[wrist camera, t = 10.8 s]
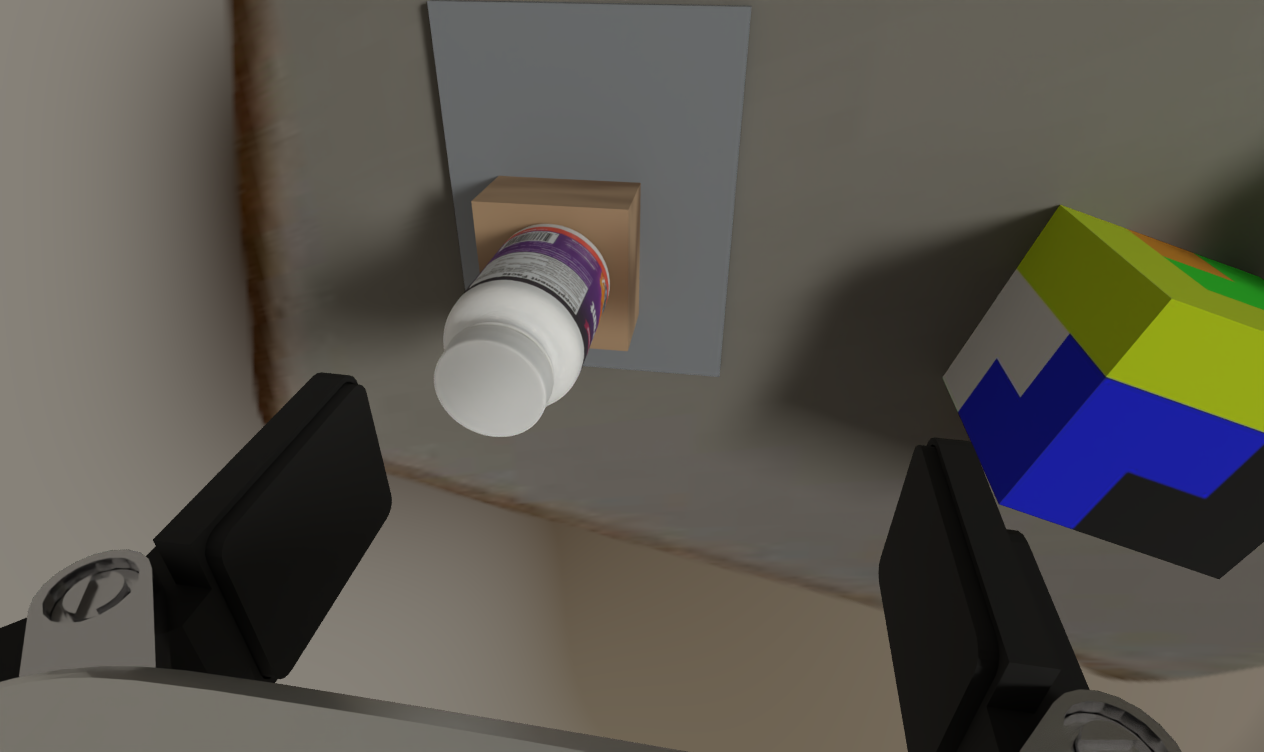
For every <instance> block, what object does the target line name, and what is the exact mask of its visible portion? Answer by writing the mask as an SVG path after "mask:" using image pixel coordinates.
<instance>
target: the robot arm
mask: <svg viewBox="0 0 1264 752" xmlns="http://www.w3.org/2000/svg"><path fill="white" fill-rule="evenodd" d="M391 504H392V497H391V492H390V488H389V484H388V480H387V476H386V472H385V467H384V463H383V459H382V455H381V451H380V447H379V443H378V438H377V434H376V430H375V426H374V422H373V418H372V414H371V410H370V405H369V401H368V397H367V393H366V390H365V388H364V387H363V386H362V385H358V383H357V381H356V379H355V378H354V377H352V376H350V375H341V374H331V373H317V374H316V375H314V376H313V377H312V378H311V379H310V380H309V381H308V382H307V383H306V384H305V385H304V386H303V387H302V388H301V389H300V390H299V391H298V392H297V393H296V394H295V395H294V396H293V397H292V398H291V399H290V400H289V401H288V402H287V403H286V404H285V405H284V406H283V407H282V408H281V409H280V411H279V412H278V413H277V414H276V415H275V416H274V417H273V418H272V419H271V420H270V421H269V422H268V423H267V424H266V425H265V426H264V427H263V428H262V429H261V430H260V431H259V432H258V433H257V434H256V435H255V436H254V437H253V438H252V439H251V440H250V441H249V442H248V443H247V444H246V445H245V446H244V447H243V449H241V450H240V451H239V452H238V453H237V454H236V455H235V457H233V459H231V461H230V462H229V463H228V464H227V465H226V466H225V467H224V468H223V469H222V470H221V471H220V472H219V473H218V474H217V475H216V476H215V477H214V478H213V479H212V480H211V481H210V482H209V483H208V484H207V485H206V486H205V487H204V488H203V489H202V490H201V491H200V492H199V493H198V494H197V495H196V496H195V497H194V498H193V499H192V500H191V501H190V502H189V503H188V504H187V506H185V507H184V509H182V511H181V512H180V513H179V514H178V515H177V516H176V517H175V518H174V519H173V520H172V521H171V522H170V523H169V524H168V525H167V526H166V527H165V528H164V529H163V530H162V531H161V532H160V533H159V534H158V535H157V536H156V537H155V538H154V539H153V541H154V543H155V545H156V547H155V548H154V549H153V550H152V551H151V552H150V553H149V554H148V555H147V556H144V555H143V554H142V553H140V552H136V551H132V550H110V551H106V552H102V553H98V554H94V555H91V556H89V557H86V558H84V559H82V560H79V561H77V562H75V563H73V564H71V565H70V566H68V567H66V568H65V569H63V570H61V571H59V572H58V573H57V574H55V576H53V577H52V578H51V579H50V580H49V581H47V582H46V583H45V584H44V585H43V586H42V587H41V589H40V590H39V591H38V592H37V593H36V595H35V596H34V597H33V599H32V602H31V605H30V607H29V610H28V616H27V618H25V619H22V620H20V621H17V622H15V623H12V624H9V625H7V626H4V627H2V628H0V752H686V751H681V750H674V749H669V748H663V747H657V746H652V745H646V744H640V743H634V742H628V741H623V740H617V739H610V738H604V737H599V736H593V735H587V734H581V733H575V732H569V731H563V730H557V729H551V728H545V727H540V726H533V725H528V724H522V723H515V722H510V721H504V720H497V719H492V718H485V717H479V716H474V715H467V714H462V713H455V712H449V711H444V710H438V709H432V708H426V707H420V706H412V705H407V704H400V703H395V702H389V701H382V700H376V699H370V698H363V697H358V696H351V695H345V694H339V693H333V692H326V691H320V690H314V689H307V688H301V687H296V686H289V685H283V684H277V683H275V682H276V681H277V679H282V678H285V677H286V676H287V675H288V674H289V673H290V671H291V670H292V669H293V667H294V665H295V664H296V662H297V661H298V659H299V657H300V656H301V654H302V653H303V651H304V650H305V648H306V646H307V645H308V643H309V642H310V640H311V638H312V637H313V635H314V634H315V632H316V630H317V629H318V627H319V626H320V624H321V622H322V621H323V619H324V618H325V616H326V614H327V613H328V611H329V610H330V608H331V607H332V605H333V603H334V602H335V600H336V599H337V597H338V595H339V594H340V592H341V590H342V589H343V587H344V586H345V584H346V583H347V581H348V579H349V578H350V576H351V575H352V573H353V571H354V570H355V568H356V567H357V565H358V563H359V562H360V560H361V558H362V557H363V555H364V554H365V552H366V551H367V549H368V548H369V546H370V544H371V543H372V541H373V540H374V538H375V536H376V535H377V533H378V531H379V530H380V528H381V527H382V525H383V524H384V522H385V520H386V519H387V517H388V515H389V513H390V509H391ZM879 584H880V590H881V596H882V602H883V608H884V614H885V619H886V625H887V631H888V637H889V643H890V649H891V654H892V661H893V666H894V672H895V677H896V684H897V690H898V695H899V702H900V707H901V713H902V719H903V725H904V730H905V736H906V743H907V749H908V752H1181V750H1180V748H1179V746H1178V745H1177V743H1176V742H1175V741H1174V740H1173V739H1172V737H1171V736H1170V735H1169V734H1168V733H1167V732H1166V731H1165V729H1163V727H1162V726H1161V725H1160V724H1159V723H1157V722H1156V721H1155V720H1154V719H1152V718H1151V717H1150V716H1149V715H1147V714H1146V713H1145V712H1143V711H1142V710H1141V709H1140V708H1138V707H1136V706H1134V705H1132V704H1130V703H1128V702H1126V701H1125V700H1123V699H1121V698H1119V697H1116V696H1113V695H1110V694H1107V693H1104V692H1100V691H1095V690H1089V687H1088V685H1087V683H1086V680H1085V678H1084V675H1083V673H1082V671H1081V668H1080V666H1079V663H1078V661H1077V659H1076V656H1075V654H1074V651H1073V649H1072V647H1071V644H1070V642H1069V639H1068V637H1067V635H1066V632H1065V630H1064V628H1063V625H1062V623H1061V620H1060V618H1059V616H1058V613H1057V611H1056V608H1055V606H1054V604H1053V601H1052V599H1051V596H1050V594H1049V592H1048V589H1047V587H1046V585H1045V582H1044V580H1043V577H1042V575H1041V573H1040V570H1039V568H1038V565H1037V563H1036V561H1035V558H1034V556H1033V553H1032V551H1031V549H1030V546H1029V544H1028V542H1027V540H1026V539H1025V537H1024V535H1023V534H1021V533H1020V532H1019V531H1016V530H1007V529H1006V528H1005V525H1004V522H1003V520H1002V517H1001V515H1000V512H999V510H998V507H997V505H996V502H995V499H994V497H993V494H992V492H991V489H990V487H989V484H988V482H987V479H986V477H985V474H984V471H983V469H982V466H981V464H980V461H979V459H978V456H977V454H976V451H975V448H974V446H973V445H972V443H971V442H969V441H961V440H951V439H942V438H931V439H930V440H929V442H928V444H927V446H922V445H918V446H917V447H916V448H915V450H914V453H913V456H912V459H911V462H910V465H909V469H908V472H907V475H906V478H905V481H904V485H903V488H902V491H901V494H900V498H899V501H898V504H897V507H896V510H895V514H894V517H893V520H892V523H891V526H890V530H889V533H888V536H887V539H886V542H885V546H884V549H883V552H882V555H881V559H880V563H879Z"/></svg>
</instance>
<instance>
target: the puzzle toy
mask: <svg viewBox="0 0 1264 752" xmlns="http://www.w3.org/2000/svg"><path fill="white" fill-rule="evenodd" d="M942 378H943V380H944V382H945V385H946V387H947V389H948V391H949V394H950V396H951V398H952V400H953V403H954V405H955V407H956V409H957V412H958V414H959V416H960V418H961V420H962V423H963V425H964V427H965V429H966V432H967V434H968V436H969V438H970V441H971V443H972V445H973V446H974V448H975V451H976V454H977V456H978V459H979V461H980V463H981V465H982V468H983V470H984V472H985V474H986V476H987V479H988V481H989V483H990V485H991V488H992V490H993V492H994V494H995V497H996V499H997V501H998V503H999V504H1000V505H1003V506H1006V507H1009V508H1012V509H1015V510H1017V511H1020V512H1023V513H1026V514H1029V515H1032V516H1035V517H1038V518H1041V519H1044V520H1047V521H1050V522H1053V523H1056V524H1059V525H1061V526H1064V527H1067V528H1070V529H1073V530H1076V531H1079V532H1082V533H1085V534H1088V535H1091V536H1094V537H1097V538H1100V539H1103V540H1105V541H1108V542H1111V543H1114V544H1117V545H1120V546H1123V547H1126V548H1129V549H1132V550H1135V551H1138V552H1141V553H1144V554H1147V555H1149V556H1152V557H1155V558H1158V559H1161V560H1164V561H1167V562H1170V563H1173V564H1176V565H1179V566H1182V567H1185V568H1188V569H1191V570H1193V571H1196V572H1199V573H1202V574H1205V575H1208V576H1211V577H1214V578H1217V579H1220V578H1221V577H1222V576H1224V575H1225V574H1226V573H1227V572H1228V571H1230V570H1231V569H1232V568H1233V567H1234V566H1236V565H1237V564H1238V563H1239V562H1240V561H1241V560H1243V559H1244V558H1245V557H1246V556H1247V555H1249V554H1250V553H1251V552H1252V551H1253V550H1255V549H1256V548H1257V547H1258V546H1259V545H1261V544H1262V543H1263V542H1264V280H1263V279H1262V278H1260V277H1258V276H1255V275H1253V274H1250V273H1247V272H1244V271H1242V270H1239V269H1236V268H1233V267H1231V266H1228V265H1225V264H1222V263H1220V262H1217V261H1214V260H1211V259H1208V258H1206V257H1203V256H1200V255H1197V254H1195V253H1192V252H1189V251H1186V250H1184V249H1181V248H1178V247H1175V246H1173V245H1170V244H1167V243H1164V242H1162V241H1159V240H1156V239H1153V238H1151V237H1148V236H1145V235H1142V234H1139V233H1137V232H1134V231H1131V230H1128V229H1126V228H1123V227H1120V226H1117V225H1115V224H1112V223H1109V222H1106V221H1104V220H1101V219H1098V218H1095V217H1093V216H1090V215H1087V214H1084V213H1082V212H1079V211H1076V210H1073V209H1070V208H1068V207H1065V206H1062V205H1059V207H1058V208H1057V210H1056V211H1055V213H1054V214H1053V216H1052V217H1051V219H1050V220H1049V222H1048V223H1047V224H1046V226H1045V227H1044V229H1043V230H1042V232H1041V233H1040V235H1039V236H1038V238H1037V239H1036V241H1035V242H1034V244H1033V245H1032V247H1031V248H1030V250H1029V251H1028V252H1027V254H1026V255H1025V257H1024V258H1023V260H1022V261H1021V263H1020V264H1019V266H1018V267H1017V269H1016V270H1015V272H1014V273H1013V275H1012V276H1011V277H1010V279H1009V280H1008V282H1007V283H1006V285H1005V286H1004V288H1003V289H1002V291H1001V292H1000V294H999V295H998V297H997V298H996V300H995V301H994V302H993V304H992V305H991V307H990V308H989V310H988V311H987V313H986V314H985V316H984V317H983V319H982V320H981V322H980V323H979V325H978V326H977V327H976V329H975V330H974V332H973V333H972V335H971V336H970V338H969V339H968V341H967V342H966V344H965V345H964V347H963V348H962V350H961V351H960V352H959V354H958V355H957V357H956V358H955V360H954V361H953V363H952V364H951V366H950V367H949V369H948V370H947V372H946V373H945V375H944V376H943V377H942Z"/></svg>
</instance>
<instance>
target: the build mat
mask: <svg viewBox="0 0 1264 752" xmlns="http://www.w3.org/2000/svg"><path fill="white" fill-rule="evenodd" d="M427 5H428V12H429V20H430V28H431V35H432V43H433V50H434V58H435V65H436V73H437V81H438V88H439V96H440V103H441V111H442V118H443V126H444V134H445V141H446V149H447V156H448V164H449V172H450V179H451V187H452V194H453V202H454V209H455V217H456V225H457V232H458V240H459V247H460V255H461V262H462V270H463V278H464V285H465V291H466V289H467V288H468V287H469V285H471V284H472V282H473V281H474V280H475V278H476V277H477V276H478V275H479V274H480V271H479V263H478V254H477V246H476V237H475V228H474V220H473V211H472V203H471V201H472V200H473V199H474V198H475V197H476V196H478V195H479V194H480V193H481V192H482V191H483V190H484V189H485V188H486V187H487V186H488V185H489V184H490V183H492V182H493V181H494V180H495V179H496V178H497V177H498V176H513V177H533V178H554V179H574V180H595V181H615V182H635V183H641V196H640V268H639V315H638V319H637V322H636V325H635V329H634V332H633V336H632V339H631V342H630V346H629V349H628V351H618V350H605V349H592V348H589V351H588V354H587V356H586V359H585V361H584V364H583V366H591V367H603V368H616V369H628V370H641V371H653V372H665V373H678V374H690V375H703V376H715V377H719V375H720V363H721V352H722V340H723V328H724V317H725V305H726V294H727V282H728V271H729V259H730V248H731V236H732V225H733V213H734V202H735V190H736V178H737V167H738V155H739V144H740V132H741V121H742V109H743V98H744V86H745V75H746V63H747V52H748V40H749V29H750V17H751V6H731V5H677V4H622V3H568V2H513V1H459V0H430V1H427Z"/></svg>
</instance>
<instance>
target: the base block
mask: <svg viewBox="0 0 1264 752" xmlns="http://www.w3.org/2000/svg"><path fill="white" fill-rule="evenodd" d="M640 196H641V183H635V182H615V181H595V180H574V179H554V178H533V177H513V176H498V177H497V178H496V179H495V180H494V181H493V182H492V183H490V184H489V185H488V186H487V187H486V188H485V189H484V190H483V191H482V192H481V193H480V194H479V195H478V196H476V197H475V198H474V199H473V200H472V201H471V203H472V211H473V220H474V228H475V237H476V246H477V254H478V263H479V271H480V273H481V271H482V270H483V269H484V268H485V266H486V265H487V264H488V263H489V262H490V260H491V259H492V258H493V257H494V255H495V254H496V253H497V252H498V250H499V249H500V248H501V247H502V245H503V244H504V243H505V242H506V241H507V240H508V239H509V238H510V237H511V236H513V235H514V234H515V233H517V232H518V231H520V230H522V229H524V228H526V227H529V226H532V225H537V224H556V225H561V226H564V227H567V228H570V229H572V230H575V231H576V232H578V233H580V234H582V235H583V236H584V237H586V238H587V239H588V240H589V241H590V242H591V243H592V244H593V245H594V246H595V247H596V248H597V249H598V251H599V252H600V253H601V255H602V257H603V259H604V261H605V263H606V266H607V269H608V273H609V279H610V290H609V296H608V299H607V303H606V306H605V309H604V312H603V314H602V317H601V319H600V322H599V325H598V327H597V330H596V332H595V335H594V338H593V340H592V343H591V345H590V348H592V349H605V350H618V351H628V349H629V346H630V342H631V339H632V336H633V332H634V329H635V325H636V322H637V319H638V315H639V268H640Z"/></svg>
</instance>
